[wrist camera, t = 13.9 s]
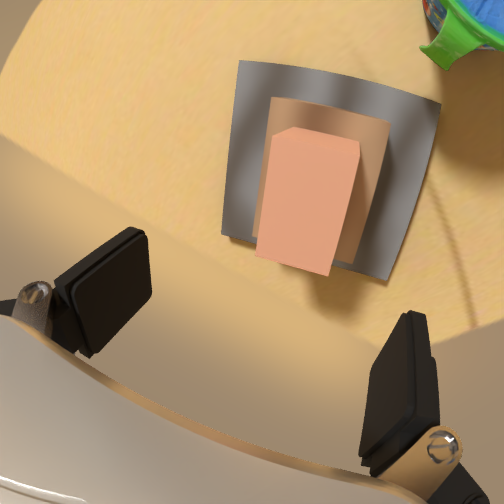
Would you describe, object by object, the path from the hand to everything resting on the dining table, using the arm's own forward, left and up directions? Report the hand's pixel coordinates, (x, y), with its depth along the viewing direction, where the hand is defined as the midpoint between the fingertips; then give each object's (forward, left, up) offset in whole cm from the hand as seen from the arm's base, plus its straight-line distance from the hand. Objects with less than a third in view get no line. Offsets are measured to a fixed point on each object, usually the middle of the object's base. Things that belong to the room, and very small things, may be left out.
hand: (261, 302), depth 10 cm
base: (0, 0, -21) cm, 21 cm away
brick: (0, 0, -15) cm, 15 cm away
